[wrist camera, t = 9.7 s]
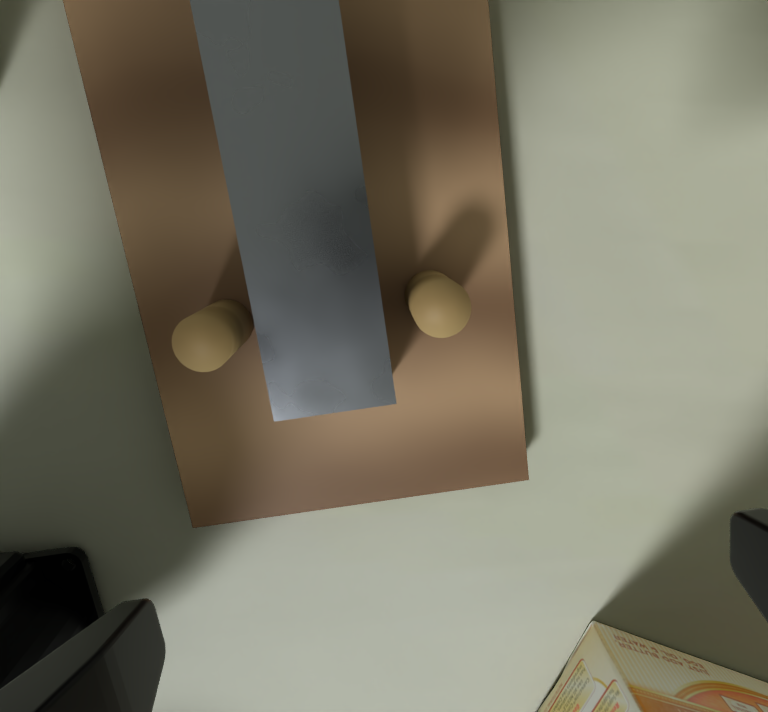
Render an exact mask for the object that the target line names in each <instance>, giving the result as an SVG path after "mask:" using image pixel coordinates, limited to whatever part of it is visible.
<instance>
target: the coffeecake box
mask: <svg viewBox="0 0 768 712" xmlns="http://www.w3.org/2000/svg"><path fill="white" fill-rule="evenodd" d="M538 712H768V683H766V682H764V681H761V680H758V679H755V678H752V677H750V676H747V675H744V674H741V673H739V672H736V671H733V670H730V669H727V668H725V667H722V666H719V665H716V664H713V663H711V662H708V661H705V660H702V659H699V658H696V657H694V656H691V655H688V654H685V653H682V652H680V651H677V650H674V649H671V648H668V647H665V646H663V645H660V644H657V643H654V642H652V641H649V640H646V639H643V638H641V637H638V636H635V635H632V634H629V633H627V632H624V631H621V630H618V629H616V628H613V627H610V626H607V625H604V624H602V623H599V622H596V621H592V622H591V623H590V624H589V626H588V628H587V629H586V631H585V632H584V634H583V636H582V637H581V639H580V641H579V643H578V644H577V646H576V648H575V649H574V651H573V653H572V655H571V656H570V658H569V660H568V662H567V665H566V667H565V669H564V671H563V673H562V675H561V677H560V679H559V680H558V682H557V684H556V685H555V687H554V688H553V690H552V691H551V693H550V694H549V695H548V697H547V698H546V700H545V701H544V702H543V704H542V705H541V707H540V709H539V710H538Z"/></svg>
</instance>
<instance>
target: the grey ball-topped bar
mask: <svg viewBox="0 0 768 712" xmlns="http://www.w3.org/2000/svg"><path fill="white" fill-rule="evenodd" d="M190 5H191V10H192V15H193V20H194V25H195V30H196V35H197V40H198V45H199V50H200V55H201V60H202V65H203V70H204V75H205V80H206V85H207V90H208V95H209V100H210V105H211V110H212V115H213V120H214V125H215V130H216V135H217V140H218V145H219V150H220V155H221V160H222V165H223V170H224V175H225V180H226V185H227V190H228V195H229V200H230V205H231V210H232V215H233V220H234V225H235V230H236V235H237V240H238V245H239V250H240V255H241V260H242V265H243V270H244V275H245V280H246V285H247V290H248V295H249V300H250V305H251V310H252V315H253V320H254V325H255V330H256V335H257V340H258V345H259V350H260V355H261V360H262V365H263V370H264V375H265V380H266V385H267V390H268V395H269V400H270V405H271V410H272V415H273V420H274V422H276V421H283V420H289V419H296V418H303V417H310V416H317V415H324V414H331V413H338V412H344V411H351V410H358V409H365V408H372V407H379V406H386V405H392V404H397V403H396V396H395V389H394V382H393V375H392V368H391V361H390V354H389V347H388V340H387V333H386V326H385V319H384V312H383V305H382V298H381V291H380V284H379V277H378V271H377V264H376V257H375V250H374V243H373V236H372V229H371V222H370V215H369V208H368V201H367V194H366V187H365V180H364V173H363V166H362V159H361V152H360V145H359V138H358V131H357V124H356V117H355V110H354V103H353V96H352V89H351V82H350V75H349V68H348V61H347V54H346V47H345V40H344V33H343V26H342V19H341V13H340V6H339V0H190Z"/></svg>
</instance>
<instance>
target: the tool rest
mask: <svg viewBox="0 0 768 712" xmlns="http://www.w3.org/2000/svg"><path fill="white" fill-rule="evenodd" d="M63 3H64V7H65V11H66V15H67V19H68V23H69V27H70V31H71V35H72V39H73V43H74V48H75V52H76V56H77V60H78V64H79V68H80V72H81V76H82V80H83V84H84V88H85V92H86V96H87V100H88V104H89V108H90V112H91V117H92V121H93V125H94V129H95V133H96V137H97V141H98V145H99V149H100V153H101V157H102V161H103V165H104V169H105V173H106V177H107V182H108V186H109V190H110V194H111V198H112V202H113V206H114V210H115V214H116V218H117V222H118V226H119V230H120V234H121V238H122V242H123V246H124V251H125V255H126V259H127V263H128V267H129V271H130V275H131V279H132V283H133V287H134V291H135V295H136V299H137V303H138V307H139V311H140V315H141V320H142V324H143V328H144V332H145V336H146V340H147V344H148V348H149V352H150V356H151V360H152V364H153V368H154V372H155V376H156V380H157V384H158V389H159V393H160V397H161V401H162V405H163V409H164V413H165V417H166V421H167V425H168V429H169V433H170V437H171V441H172V445H173V449H174V454H175V458H176V462H177V466H178V470H179V474H180V478H181V482H182V486H183V490H184V494H185V498H186V502H187V506H188V510H189V514H190V518H191V523H192V527H193V528H197V527H204V526H211V525H218V524H225V523H231V522H238V521H245V520H252V519H259V518H266V517H273V516H280V515H287V514H294V513H301V512H308V511H315V510H322V509H329V508H336V507H343V506H350V505H357V504H364V503H371V502H378V501H385V500H392V499H399V498H406V497H413V496H419V495H426V494H433V493H440V492H447V491H454V490H461V489H468V488H475V487H482V486H489V485H496V484H503V483H510V482H517V481H524V480H529V476H528V464H527V452H526V440H525V429H524V417H523V405H522V393H521V381H520V370H519V358H518V346H517V334H516V323H515V311H514V299H513V287H512V275H511V264H510V252H509V240H508V228H507V217H506V205H505V193H504V181H503V170H502V158H501V146H500V134H499V122H498V111H497V99H496V87H495V75H494V64H493V52H492V40H491V28H490V16H489V5H488V0H339V6H340V13H341V19H342V26H343V33H344V40H345V47H346V54H347V61H348V68H349V75H350V82H351V89H352V96H353V103H354V110H355V117H356V124H357V131H358V138H359V145H360V152H361V159H362V166H363V173H364V180H365V187H366V194H367V201H368V208H369V215H370V222H371V229H372V236H373V243H374V250H375V257H376V264H377V271H378V277H379V284H380V291H381V298H382V305H383V312H384V319H385V326H386V333H387V340H388V347H389V354H390V361H391V368H392V375H393V382H394V389H395V396H396V403H397V404H392V405H386V406H379V407H372V408H365V409H358V410H351V411H344V412H338V413H331V414H324V415H317V416H310V417H303V418H296V419H289V420H283V421H276V422H274V420H273V415H272V410H271V405H270V400H269V395H268V390H267V385H266V380H265V375H264V370H263V365H262V360H261V355H260V350H259V345H258V340H257V335H256V330H255V325H254V320H253V315H252V310H251V305H250V300H249V295H248V290H247V285H246V280H245V275H244V270H243V265H242V260H241V255H240V250H239V245H238V240H237V235H236V230H235V225H234V220H233V215H232V210H231V205H230V200H229V195H228V190H227V185H226V180H225V175H224V170H223V165H222V160H221V155H220V150H219V145H218V140H217V135H216V130H215V125H214V120H213V115H212V110H211V105H210V100H209V95H208V90H207V85H206V80H205V75H204V70H203V65H202V60H201V55H200V50H199V45H198V40H197V35H196V30H195V25H194V20H193V15H192V10H191V5H190V0H63Z"/></svg>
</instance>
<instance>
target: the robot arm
mask: <svg viewBox="0 0 768 712" xmlns="http://www.w3.org/2000/svg"><path fill="white" fill-rule="evenodd" d="M67 559H71V560H73V561H74V562H75V564H76V565H75V564H71V563H69V561H68V560H67ZM730 562H731V566H732V569H733V572H734V574H735V575H736V577H737V579H738V580H739V582H740V583H741V584H742V586H743V587H744V589H745V590H746V592H747V593H748V595H749V596H750V598H751V599H752V600H753V602H754V603H755V605H756V606H757V608H758V609H759V611H760V612H761V613H762V615H763V616H764V618H765V619H766V621H767V622H768V510H767V509H763V508H755V509H748V510H741V511H736V512H735V513H734V514H732V516H731V519H730ZM164 660H165V642H164V638H163V634H162V631H161V627H160V624H159V620H158V616H157V613H156V609H155V606H154V604H153V602H152V601H151V600H149V599H147V598H145V599H138V600H131V601H125V602H122V603H120V604H119V605H117V606H116V607H114V608H113V609H112V610H110V611H109V612H107V613H106V614H105V615H104V611H103V608H102V605H101V602H100V598H99V595H98V592H97V588H96V585H95V582H94V578H93V575H92V572H91V568H90V565H89V562H88V558H87V556H86V554H85V552H84V551H82V550H81V549H79V548H77V547H67V548H60V549H53V550H46V551H39V552H32V553H25V554H23V553H20V552H16V551H13V552H6V553H0V712H152V709H153V705H154V701H155V697H156V693H157V689H158V685H159V681H160V677H161V673H162V669H163V665H164Z"/></svg>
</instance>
